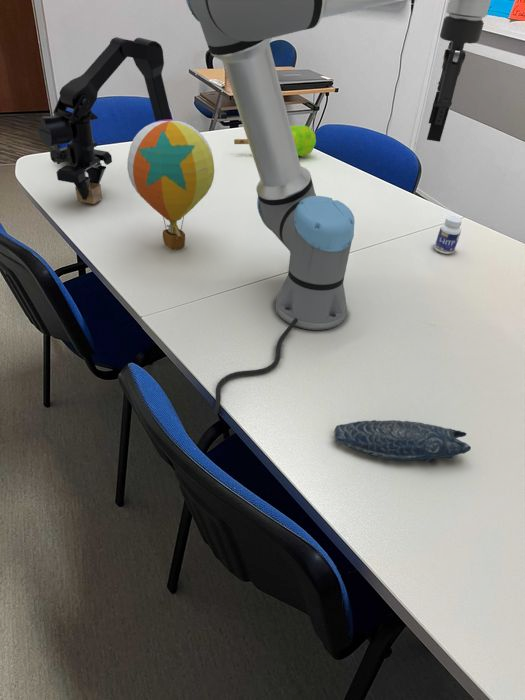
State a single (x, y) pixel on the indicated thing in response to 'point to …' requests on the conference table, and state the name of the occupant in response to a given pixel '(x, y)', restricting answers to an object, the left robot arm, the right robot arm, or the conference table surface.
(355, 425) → the fish model
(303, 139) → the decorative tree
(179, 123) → the toy
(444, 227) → the pill bottle
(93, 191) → the brown cardboard box
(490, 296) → the conference table surface
